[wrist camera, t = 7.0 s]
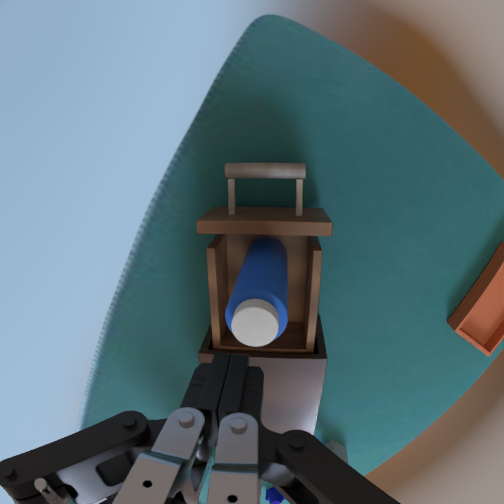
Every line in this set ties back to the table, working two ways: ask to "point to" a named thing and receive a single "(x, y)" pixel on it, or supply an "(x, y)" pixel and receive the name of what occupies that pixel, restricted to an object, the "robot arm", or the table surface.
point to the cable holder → (274, 496)
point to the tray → (483, 308)
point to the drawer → (275, 226)
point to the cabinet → (286, 383)
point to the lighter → (337, 449)
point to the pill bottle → (260, 294)
